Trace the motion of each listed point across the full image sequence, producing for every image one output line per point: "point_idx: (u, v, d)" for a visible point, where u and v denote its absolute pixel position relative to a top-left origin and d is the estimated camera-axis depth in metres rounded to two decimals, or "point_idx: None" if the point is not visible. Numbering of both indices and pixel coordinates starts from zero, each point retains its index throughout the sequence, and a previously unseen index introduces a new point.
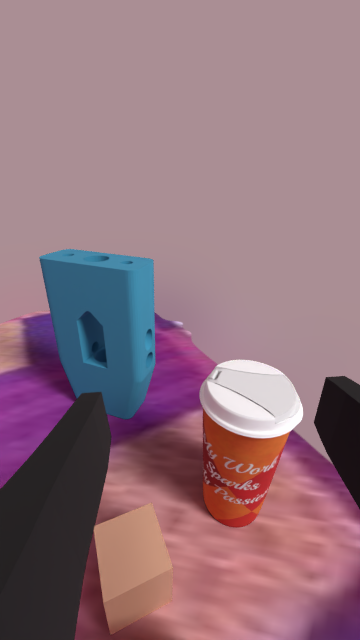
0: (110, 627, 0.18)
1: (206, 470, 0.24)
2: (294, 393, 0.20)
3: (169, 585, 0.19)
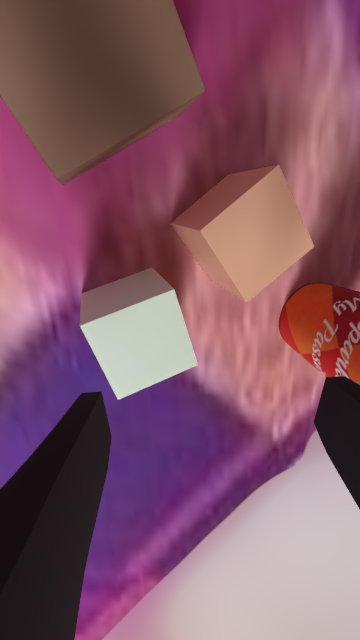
0: (176, 226, 0.16)
1: (357, 312, 0.16)
2: None
3: (225, 287, 0.16)
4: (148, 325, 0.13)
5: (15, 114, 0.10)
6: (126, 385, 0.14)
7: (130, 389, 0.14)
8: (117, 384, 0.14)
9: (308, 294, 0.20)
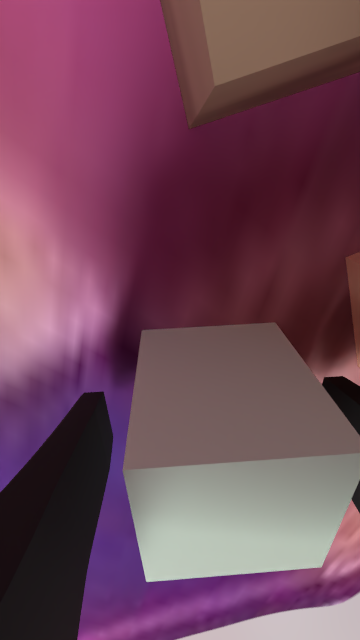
0: None
1: None
2: None
3: None
4: (269, 497, 0.06)
5: None
6: (172, 569, 0.07)
7: (175, 573, 0.07)
8: (156, 563, 0.07)
9: None
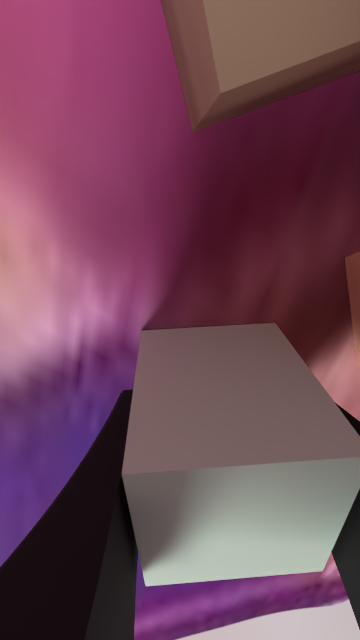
0: None
1: None
2: None
3: None
4: (271, 501, 0.06)
5: None
6: (172, 573, 0.07)
7: (175, 578, 0.07)
8: (155, 568, 0.07)
9: None
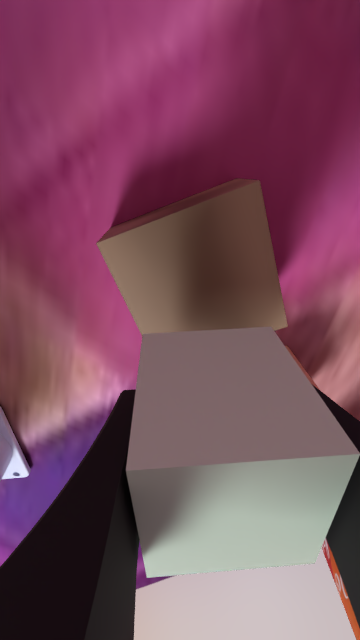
0: None
1: None
2: None
3: None
4: (265, 497, 0.06)
5: (142, 333, 0.14)
6: (172, 565, 0.07)
7: (175, 569, 0.07)
8: (156, 560, 0.07)
9: None
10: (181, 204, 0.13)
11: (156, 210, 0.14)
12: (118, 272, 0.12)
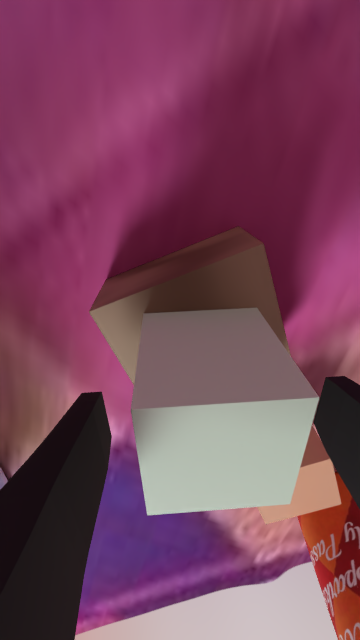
0: None
1: None
2: None
3: None
4: (244, 436, 0.07)
5: None
6: (168, 502, 0.08)
7: (171, 507, 0.09)
8: (155, 497, 0.08)
9: None
10: (179, 261, 0.12)
11: (153, 262, 0.13)
12: (113, 338, 0.11)
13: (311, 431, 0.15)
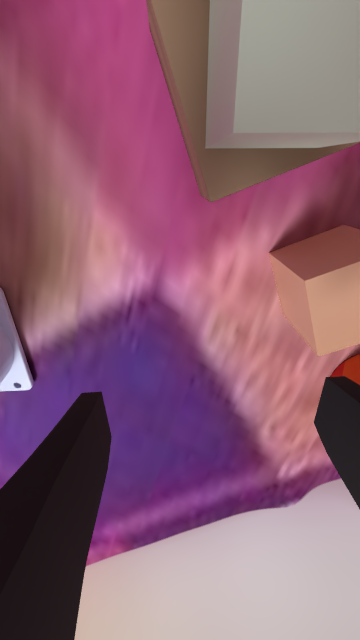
0: (275, 259, 0.16)
1: None
2: None
3: (298, 331, 0.16)
4: None
5: (194, 142, 0.11)
6: (265, 102, 0.06)
7: (266, 117, 0.06)
8: (250, 83, 0.06)
9: None
10: None
11: None
12: (170, 31, 0.09)
13: None
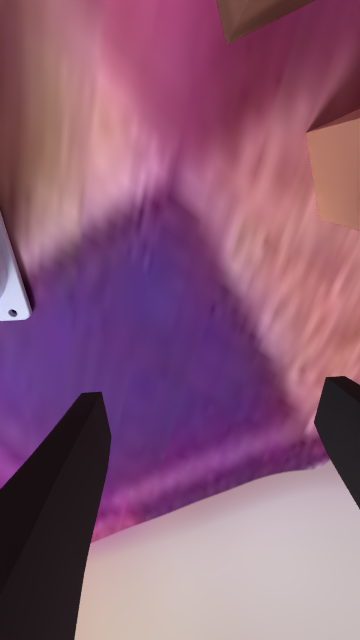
0: (317, 132, 0.13)
1: None
2: None
3: (345, 222, 0.14)
4: None
5: None
6: None
7: None
8: None
9: None
10: None
11: None
12: None
13: None
